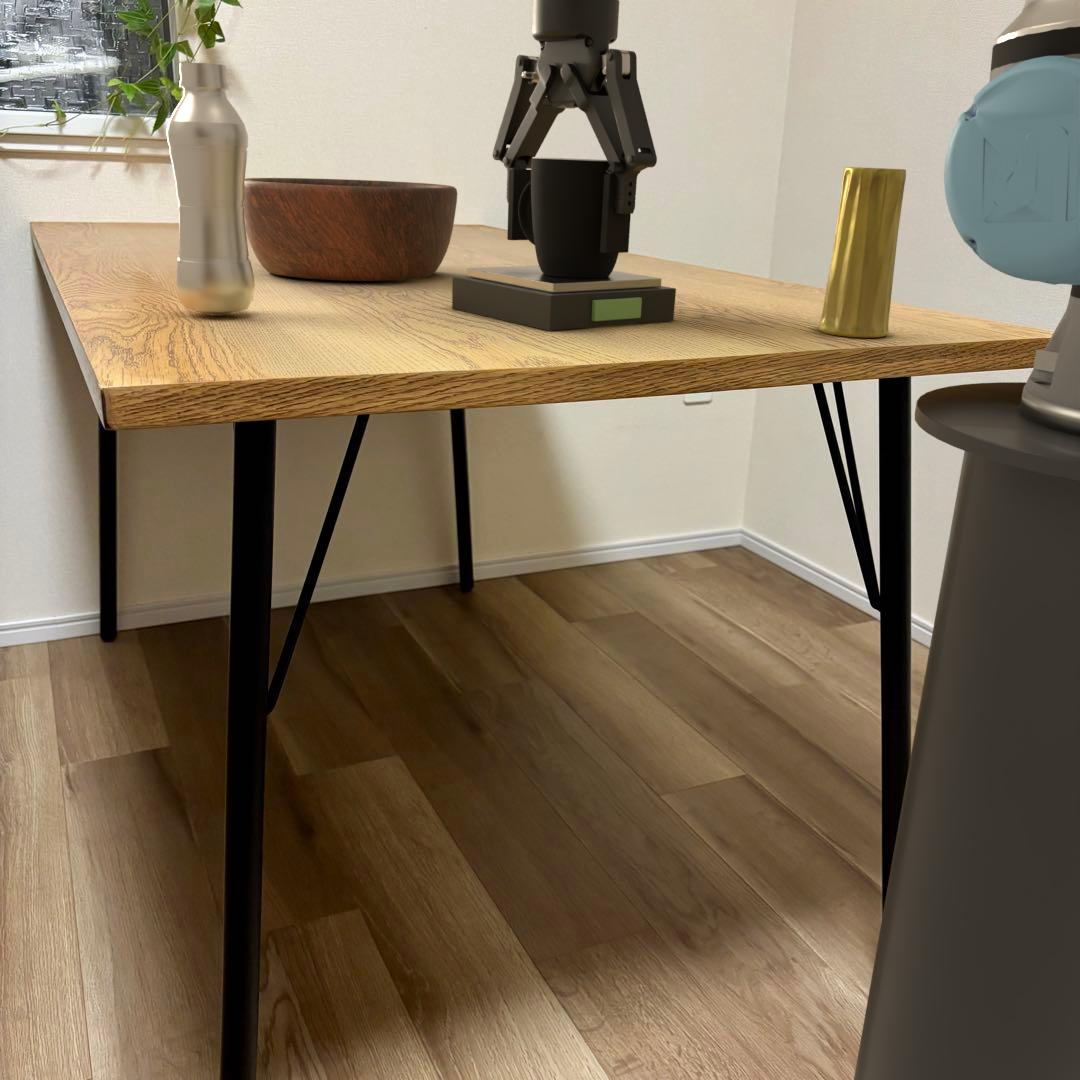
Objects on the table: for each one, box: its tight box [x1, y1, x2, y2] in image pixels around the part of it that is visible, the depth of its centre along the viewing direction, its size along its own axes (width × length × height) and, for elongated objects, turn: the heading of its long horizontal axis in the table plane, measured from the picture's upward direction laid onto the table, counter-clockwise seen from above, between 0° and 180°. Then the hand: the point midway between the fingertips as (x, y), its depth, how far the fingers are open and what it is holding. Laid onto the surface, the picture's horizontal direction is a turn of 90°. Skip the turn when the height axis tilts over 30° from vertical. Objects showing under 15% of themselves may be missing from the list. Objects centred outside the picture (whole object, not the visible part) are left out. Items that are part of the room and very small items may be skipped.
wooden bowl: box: [243, 177, 458, 282], centre depth 127 cm, size 25×25×10 cm
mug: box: [518, 156, 620, 278], centre depth 100 cm, size 12×9×10 cm
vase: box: [818, 166, 907, 339], centre depth 97 cm, size 6×6×14 cm
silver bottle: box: [166, 62, 256, 317], centre depth 91 cm, size 6×7×20 cm
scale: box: [451, 275, 677, 332], centre depth 102 cm, size 15×15×3 cm
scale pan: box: [466, 265, 662, 293], centre depth 102 cm, size 13×13×1 cm
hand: (565, 246), depth 101 cm, fingers open, 13 cm apart
